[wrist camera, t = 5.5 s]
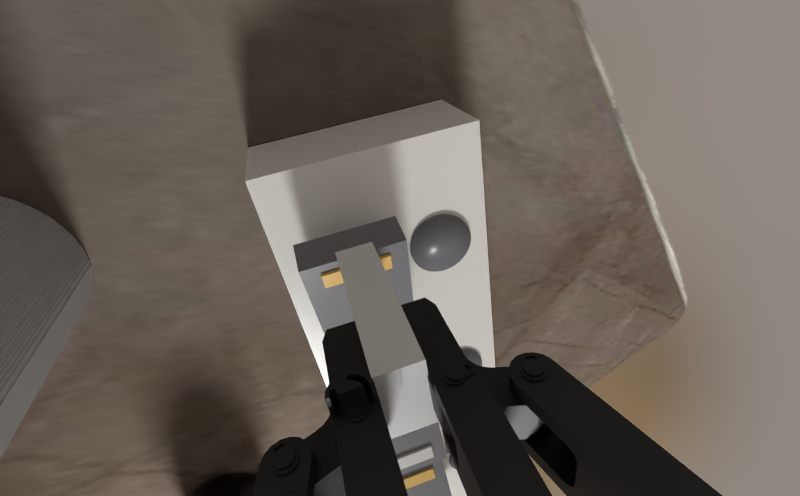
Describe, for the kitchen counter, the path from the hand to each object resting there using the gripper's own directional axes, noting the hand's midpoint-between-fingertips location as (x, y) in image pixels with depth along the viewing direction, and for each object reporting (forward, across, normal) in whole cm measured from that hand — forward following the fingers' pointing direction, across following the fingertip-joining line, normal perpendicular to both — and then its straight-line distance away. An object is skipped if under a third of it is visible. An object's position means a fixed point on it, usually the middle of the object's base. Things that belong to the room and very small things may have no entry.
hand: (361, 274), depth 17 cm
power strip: (+9, +2, -12) cm, 16 cm away
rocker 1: (+3, 0, -2) cm, 4 cm away
